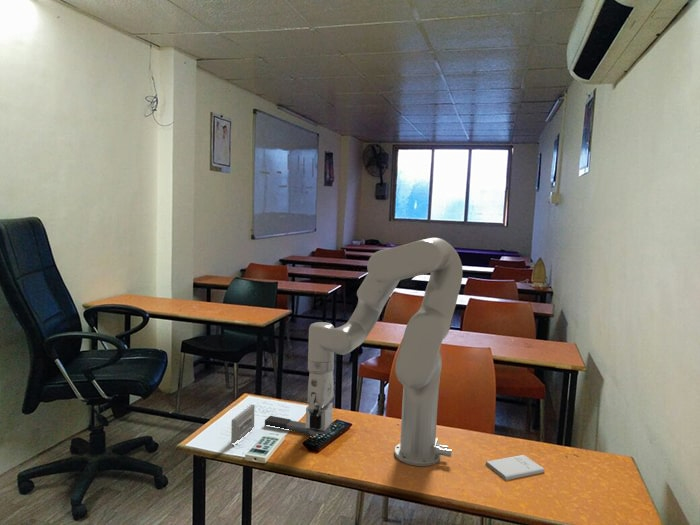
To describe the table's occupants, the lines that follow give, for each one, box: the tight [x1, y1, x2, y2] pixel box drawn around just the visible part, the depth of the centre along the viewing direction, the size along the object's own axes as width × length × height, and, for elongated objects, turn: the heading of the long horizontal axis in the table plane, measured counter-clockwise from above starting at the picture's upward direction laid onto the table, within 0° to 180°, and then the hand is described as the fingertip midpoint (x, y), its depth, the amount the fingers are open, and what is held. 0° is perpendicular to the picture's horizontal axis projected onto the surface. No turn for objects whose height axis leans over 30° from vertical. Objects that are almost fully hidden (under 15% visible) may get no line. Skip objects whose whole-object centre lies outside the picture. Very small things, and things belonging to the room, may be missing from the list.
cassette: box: [230, 404, 255, 444], centre depth 143 cm, size 12×2×8 cm, turn 163°
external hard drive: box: [485, 454, 545, 481], centre depth 131 cm, size 2×8×12 cm
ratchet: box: [264, 415, 331, 438], centre depth 149 cm, size 20×7×6 cm, turn 71°
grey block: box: [305, 402, 333, 431], centre depth 147 cm, size 6×6×6 cm
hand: (319, 423), depth 147 cm, fingers closed on grey block, 5 cm apart
